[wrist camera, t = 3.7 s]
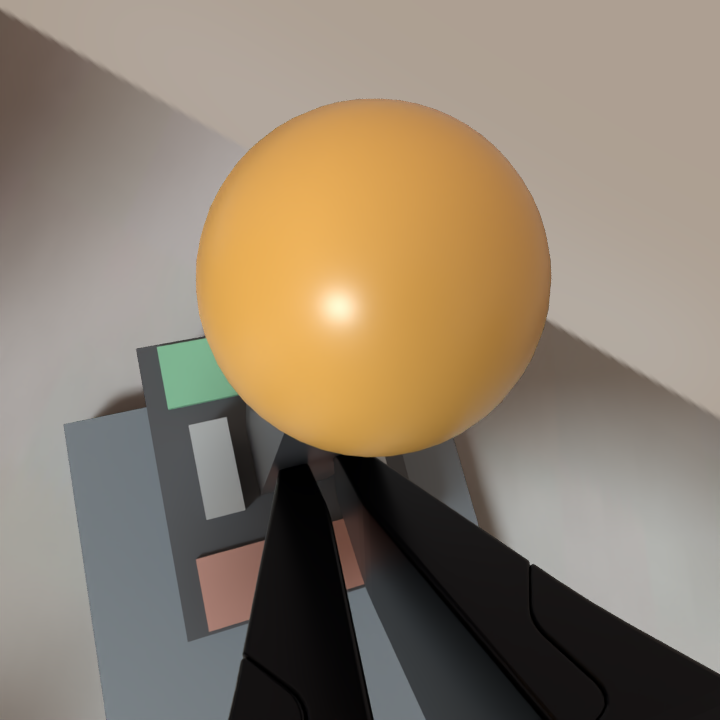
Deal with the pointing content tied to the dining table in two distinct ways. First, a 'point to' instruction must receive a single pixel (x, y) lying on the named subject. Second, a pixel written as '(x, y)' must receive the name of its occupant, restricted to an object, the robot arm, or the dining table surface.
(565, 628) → the robot arm
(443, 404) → the lever
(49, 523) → the dining table surface
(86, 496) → the switch box
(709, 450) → the dining table surface
